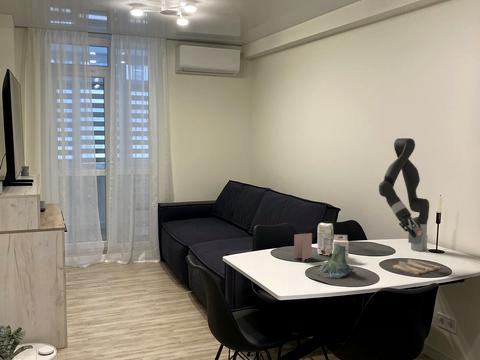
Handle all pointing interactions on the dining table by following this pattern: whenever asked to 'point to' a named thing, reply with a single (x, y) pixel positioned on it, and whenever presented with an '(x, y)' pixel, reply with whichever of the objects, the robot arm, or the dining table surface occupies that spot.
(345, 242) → the ink cartridge box
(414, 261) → the rail board
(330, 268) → the tree stump
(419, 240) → the module
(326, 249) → the juice carton
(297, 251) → the greeting card
